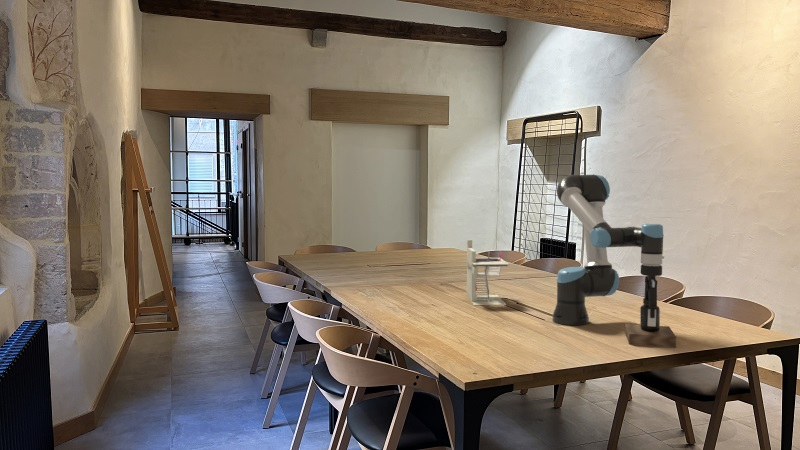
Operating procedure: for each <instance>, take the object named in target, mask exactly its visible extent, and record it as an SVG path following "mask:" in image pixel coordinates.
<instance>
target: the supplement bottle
mask: <svg viewBox="0 0 800 450" xmlns="http://www.w3.org/2000/svg"><path fill="white" fill-rule="evenodd" d="M642 299H643V300H642V305H641V306H640V310H639V313H640V315H639V316H640V317H639V318H640V319H639V321H640V324H639V325H640V327H641V329H642V330H644V331H650V332H655V331H659V329H660V326H661V322H660V321H661V319H660V318H661V317H660V315H661V311H660V310H661V309H660V307H659V306H658V305H657V309H656V327H655V326H648V309H647V307H649V299H648V298H644V297H643V298H642Z"/></svg>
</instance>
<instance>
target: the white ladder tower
mask: <svg viewBox="0 0 800 450" xmlns="http://www.w3.org/2000/svg"><path fill="white" fill-rule="evenodd" d="M490 253H491V252H490V251H488V255H487V257H477V251H476V250H475V249H474V248H473V239H466V254H467V255H466V296H467V298H468V297H469V298H468V299H469V301H470V300H471V301H470V302H471V304H472V303H473V304H472V305H473V306H474V305H504V306H507V303H506V302H505V301H504V300H503V299H502V298H501V297H500V296H499V295H498V294H490V288H489V280H488V277H500V274H501V270H502V267H509V266H510V263H509V262H507V261H505V260H504V259H502V256H503V253H500V255H499V257H491V254H490ZM478 267H484V272H479V268H478ZM477 277H484V278H477Z"/></svg>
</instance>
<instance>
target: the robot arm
mask: <svg viewBox="0 0 800 450" xmlns="http://www.w3.org/2000/svg"><path fill="white" fill-rule="evenodd" d="M610 187H611V186H610V184H609V182H608V180H607V178H606V177H604V176H603V175H600V174H570V175H566V176H565V177H563V178H562V179H561V180H560V181H559V182H558V185H557V188H556V196H557V199H558V200H559V202H560V203H561V204H562V205H563V206H565V207H567V208H569V210H570V211H571V212H572V213H573V214H574V216H575V217H576V218H577V219H578V220H579V222H581V224H582V225H583V231H584V232H583V233H584V241H585V243H584V244H585V252H586V253H585V254H586V263H585V264H584V266H570V267H569V266H568V267H564V268H562V269H559V270H558V272H557V278H556V284H557V285H556V286H557V287H556V299H557V300H556V304H555V308H554V310H553V313H552V322H554V323H556V324H560V325H565V326H566V325H567V326H584V325H588V324H589V321H590V319H589V318H590V316H589V314H588V310H587V308H586V303H585V302H586V298H590V297H606V296H613V295H614V294H615V293H616V292H617V290H618V288H619V285H620V276H619V273H618V271H617V270H616V269H614V268H613V266H612V265H613V264H612V263H611V262H610V261H608V251H607V248H620V247H621V248H622V247H623V248H624V247H626V248H628V247H637V248H640V249H641V250H640V264H641V265H640V274H641V275H642V276H645V277H644V297H643V298H648V299H649V307H647V309H648V326H655V327H656V309H657V306H658V280H657V279H656V277H661V276H662V275H663V259H665V256H664V255H663V253H664V252H663V251H664V250H663V249H664V246H663V245H664V227H663V226H664V225H662V224H660V223H643V224H642V225H641V227H638V226H637V227H636V226H626V227H611V225H610V224H609V223H608V222H607V221H606V220H605V219H604V210H603V207H604V206H605V205H606V201H607V200H608V199H609V197H610V193H611V188H610Z"/></svg>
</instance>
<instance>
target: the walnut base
mask: <svg viewBox="0 0 800 450" xmlns="http://www.w3.org/2000/svg"><path fill="white" fill-rule="evenodd" d="M624 327H625V328H624V329H625V332H624V334H625V337H626V340H627V342H628V345H631V346H632V345H633V346H635V345H636V346H648V347H661V348H662V347H664V348H677V335H676V334H675V333H674V331H673V330H672V328H671V326H668V325H667V326H666V325H664V326H663V325H660V329H659V331H655V332H650V331H644V330H642V329H641V327H640V324H631V323H625V326H624Z"/></svg>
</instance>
